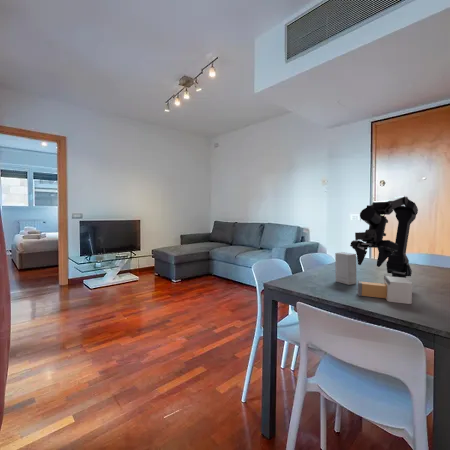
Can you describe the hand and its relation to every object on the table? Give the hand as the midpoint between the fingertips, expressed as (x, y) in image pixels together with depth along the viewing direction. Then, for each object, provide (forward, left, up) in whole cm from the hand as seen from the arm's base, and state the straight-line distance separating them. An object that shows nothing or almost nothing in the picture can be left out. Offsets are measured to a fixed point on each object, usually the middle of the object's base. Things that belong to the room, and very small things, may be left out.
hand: (368, 265), depth 109 cm
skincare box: (-24, -7, -14) cm, 29 cm away
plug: (-5, +5, -14) cm, 15 cm away
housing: (-5, +11, -14) cm, 19 cm away
